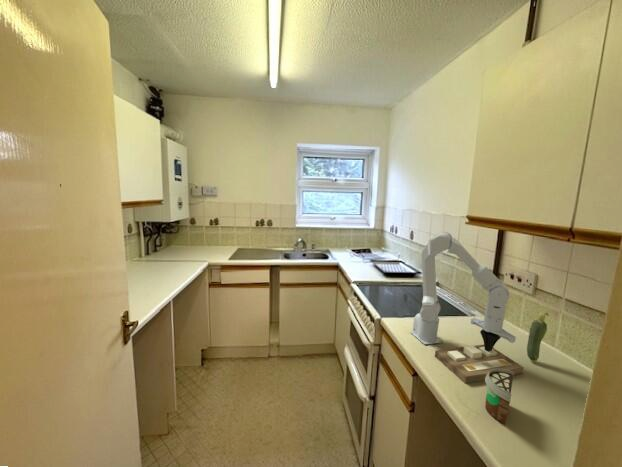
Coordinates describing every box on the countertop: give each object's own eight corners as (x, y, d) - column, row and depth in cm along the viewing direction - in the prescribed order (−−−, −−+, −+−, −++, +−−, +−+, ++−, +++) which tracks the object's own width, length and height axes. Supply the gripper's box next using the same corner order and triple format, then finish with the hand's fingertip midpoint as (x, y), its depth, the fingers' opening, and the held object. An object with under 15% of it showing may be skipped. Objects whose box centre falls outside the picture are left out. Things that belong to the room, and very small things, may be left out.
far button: (478, 353, 101) (479, 347, 101) (486, 352, 102) (487, 346, 102) (487, 360, 98) (488, 354, 97) (496, 358, 99) (497, 352, 98)
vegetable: (521, 358, 101) (531, 308, 98) (528, 356, 103) (539, 306, 99) (534, 365, 97) (545, 313, 94) (542, 363, 99) (553, 312, 95)
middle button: (463, 352, 99) (464, 346, 99) (472, 351, 100) (473, 345, 100) (472, 359, 96) (473, 353, 95) (481, 358, 97) (482, 352, 96)
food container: (483, 391, 83) (489, 361, 82) (508, 401, 80) (514, 371, 78) (477, 415, 74) (483, 383, 72) (504, 429, 70) (511, 395, 68)
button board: (434, 356, 99) (435, 349, 99) (486, 349, 106) (487, 343, 105) (465, 383, 86) (466, 375, 86) (522, 373, 92) (523, 366, 92)
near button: (446, 357, 98) (447, 351, 97) (455, 356, 99) (456, 350, 98) (455, 364, 94) (456, 358, 94) (464, 363, 95) (465, 357, 95)
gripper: (468, 309, 102) (462, 342, 104) (510, 327, 89) (503, 364, 91) (479, 306, 105) (473, 338, 107) (521, 323, 92) (514, 359, 95)
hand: (488, 350), depth 100 cm, fingers closed, pressing on far button
